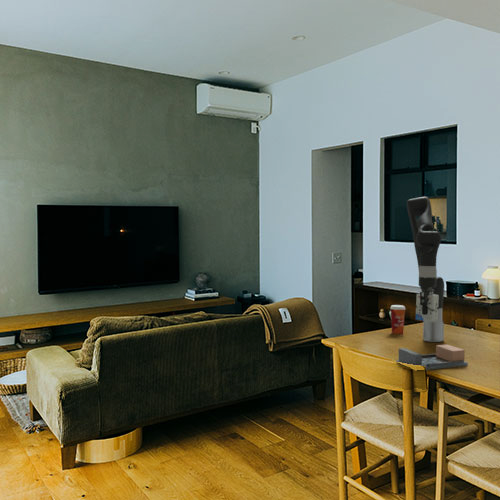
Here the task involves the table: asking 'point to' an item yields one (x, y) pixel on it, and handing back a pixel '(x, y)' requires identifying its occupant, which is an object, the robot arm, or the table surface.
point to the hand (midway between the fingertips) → (426, 313)
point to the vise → (427, 360)
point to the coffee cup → (397, 318)
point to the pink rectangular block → (449, 352)
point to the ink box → (432, 309)
